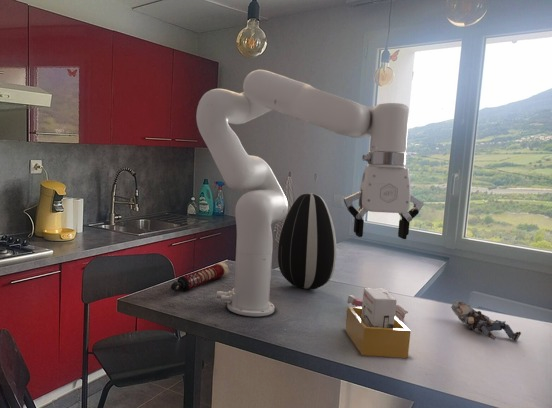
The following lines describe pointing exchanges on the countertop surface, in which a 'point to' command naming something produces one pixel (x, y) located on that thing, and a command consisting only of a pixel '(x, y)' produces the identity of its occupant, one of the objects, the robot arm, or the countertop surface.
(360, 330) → the holder
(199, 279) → the shock absorber
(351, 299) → the toy
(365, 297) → the ink box
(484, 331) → the toy
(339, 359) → the countertop surface
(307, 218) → the sunflower seed
